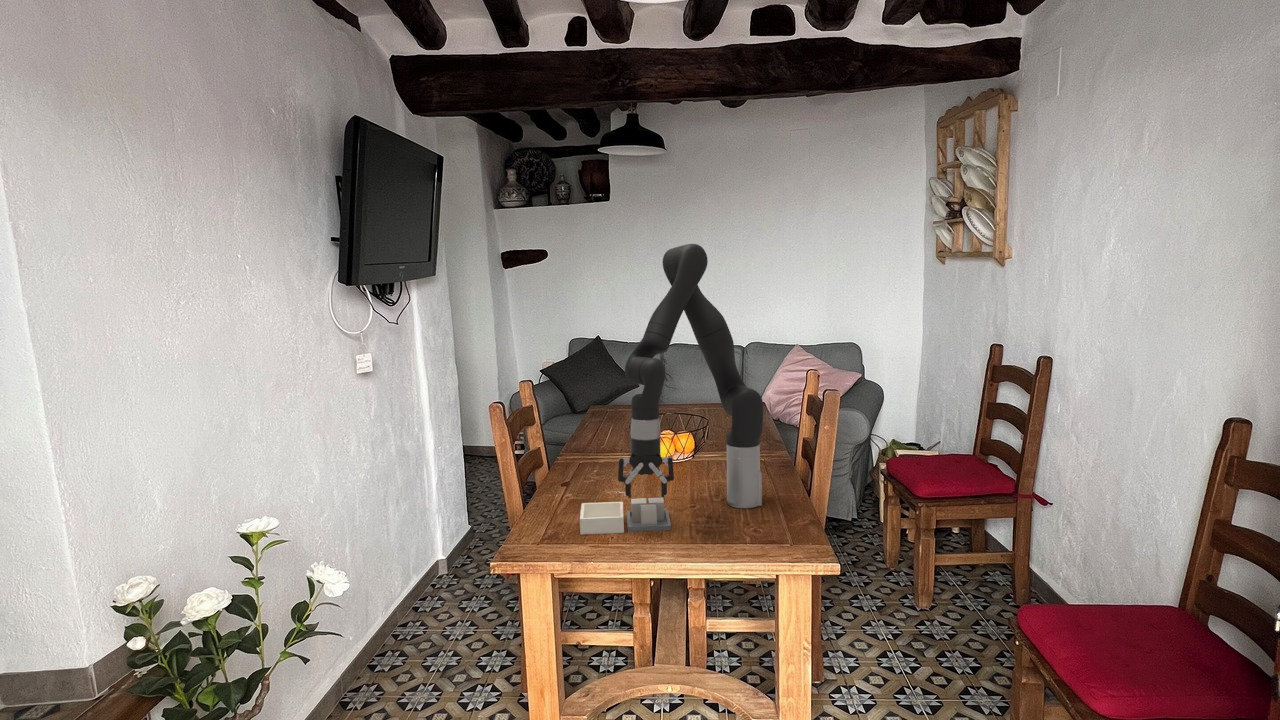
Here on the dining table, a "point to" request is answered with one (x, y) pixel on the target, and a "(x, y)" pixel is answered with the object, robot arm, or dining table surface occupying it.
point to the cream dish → (601, 518)
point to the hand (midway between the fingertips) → (646, 496)
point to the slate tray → (638, 527)
